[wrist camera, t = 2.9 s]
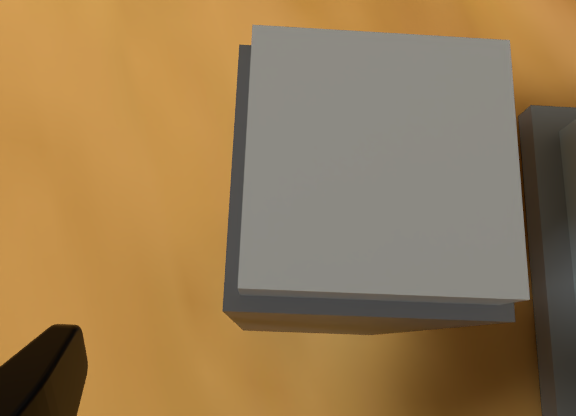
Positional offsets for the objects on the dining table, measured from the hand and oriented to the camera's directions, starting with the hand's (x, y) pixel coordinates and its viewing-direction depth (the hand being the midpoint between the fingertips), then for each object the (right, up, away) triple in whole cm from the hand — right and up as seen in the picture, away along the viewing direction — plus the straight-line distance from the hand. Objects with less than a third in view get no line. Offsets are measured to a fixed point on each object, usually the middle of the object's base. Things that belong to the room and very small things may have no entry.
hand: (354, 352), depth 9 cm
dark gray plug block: (0, 0, +10) cm, 10 cm away
